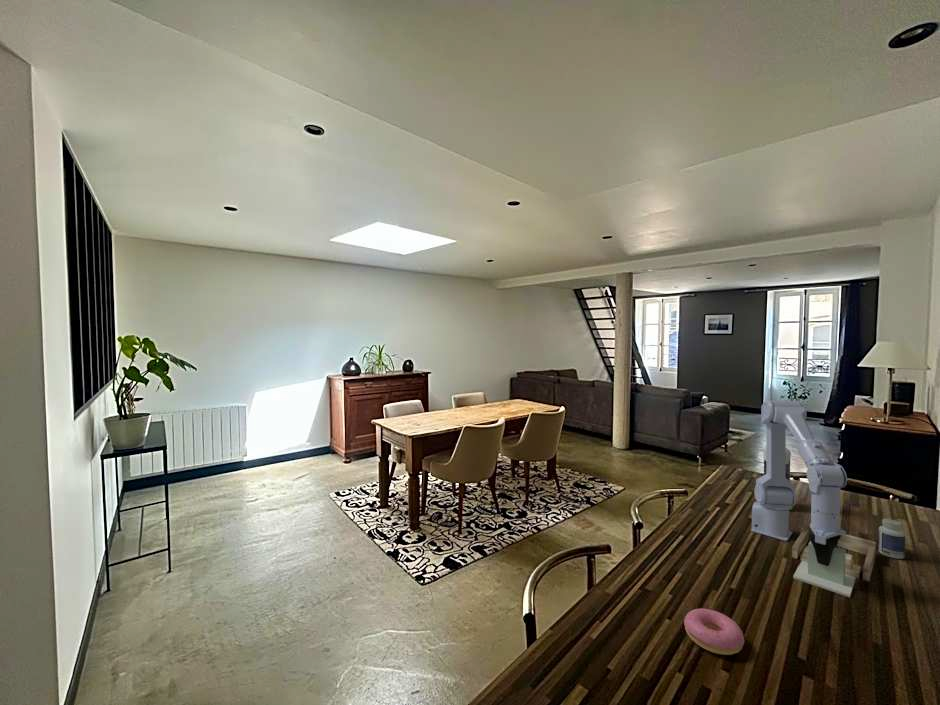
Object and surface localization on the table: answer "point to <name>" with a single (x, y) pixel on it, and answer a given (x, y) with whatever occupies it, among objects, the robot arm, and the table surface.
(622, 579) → the table surface
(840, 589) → the grey pad
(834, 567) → the green panel
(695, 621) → the doughnut
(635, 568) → the table surface
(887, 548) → the pill bottle
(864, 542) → the rack
